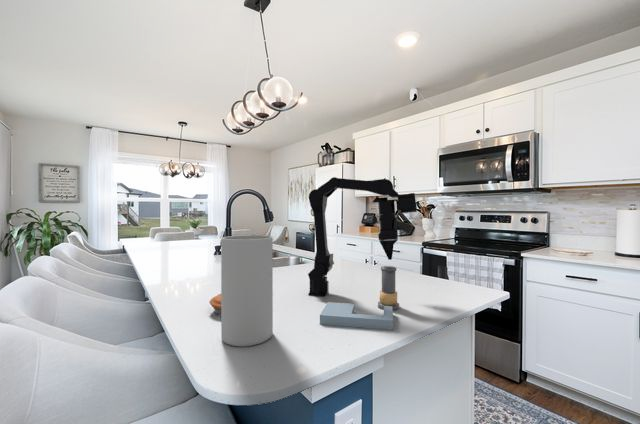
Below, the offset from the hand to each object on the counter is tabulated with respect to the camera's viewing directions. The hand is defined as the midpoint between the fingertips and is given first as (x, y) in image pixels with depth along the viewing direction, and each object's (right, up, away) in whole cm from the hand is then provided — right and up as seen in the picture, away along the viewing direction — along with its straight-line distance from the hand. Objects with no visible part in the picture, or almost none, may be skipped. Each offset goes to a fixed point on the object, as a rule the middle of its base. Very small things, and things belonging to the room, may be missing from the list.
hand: (390, 257), depth 107 cm
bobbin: (-3, -15, -9) cm, 18 cm away
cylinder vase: (-44, -15, -32) cm, 56 cm away
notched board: (-14, -15, -20) cm, 29 cm away
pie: (-53, -15, -12) cm, 56 cm away
